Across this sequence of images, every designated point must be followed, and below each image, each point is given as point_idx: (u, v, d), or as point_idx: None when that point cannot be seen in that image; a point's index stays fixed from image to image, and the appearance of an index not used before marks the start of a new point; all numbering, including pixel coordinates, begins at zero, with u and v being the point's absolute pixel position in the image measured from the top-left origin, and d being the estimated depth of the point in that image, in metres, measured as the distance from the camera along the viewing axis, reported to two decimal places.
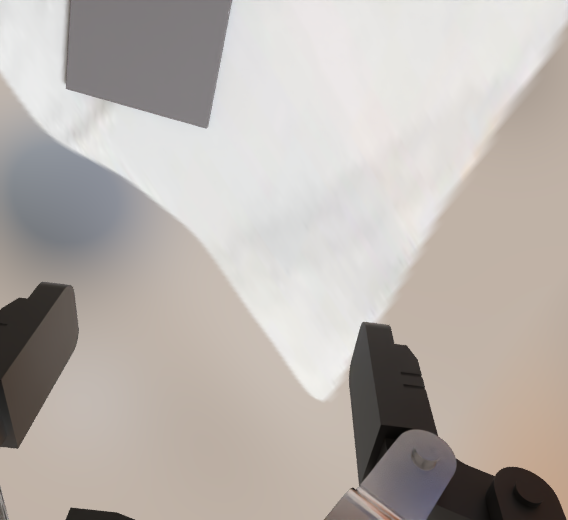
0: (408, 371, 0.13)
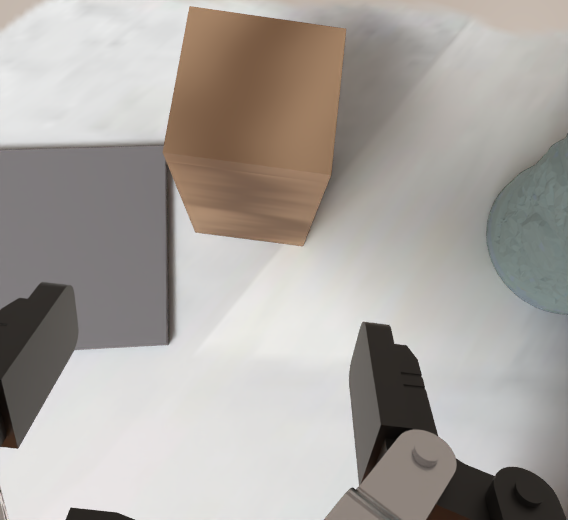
0: (408, 371, 0.13)
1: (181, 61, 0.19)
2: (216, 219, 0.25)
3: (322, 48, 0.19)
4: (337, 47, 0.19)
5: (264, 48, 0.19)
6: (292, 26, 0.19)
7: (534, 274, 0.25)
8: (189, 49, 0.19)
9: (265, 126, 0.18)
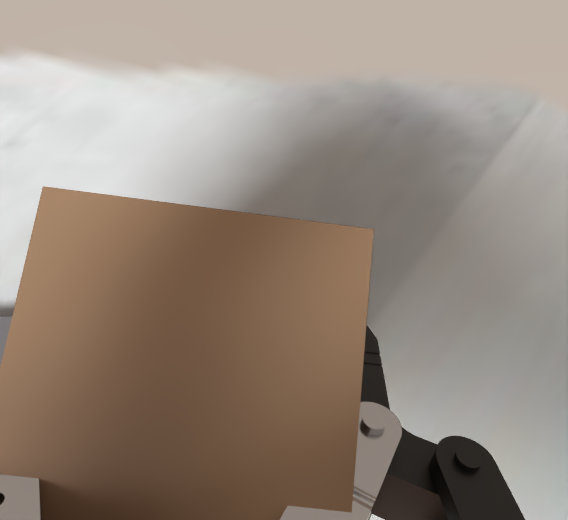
0: (367, 350, 0.13)
1: (17, 318, 0.08)
2: None
3: (324, 276, 0.09)
4: (356, 273, 0.09)
5: (200, 280, 0.09)
6: (260, 226, 0.09)
7: None
8: (36, 288, 0.09)
9: (197, 474, 0.08)
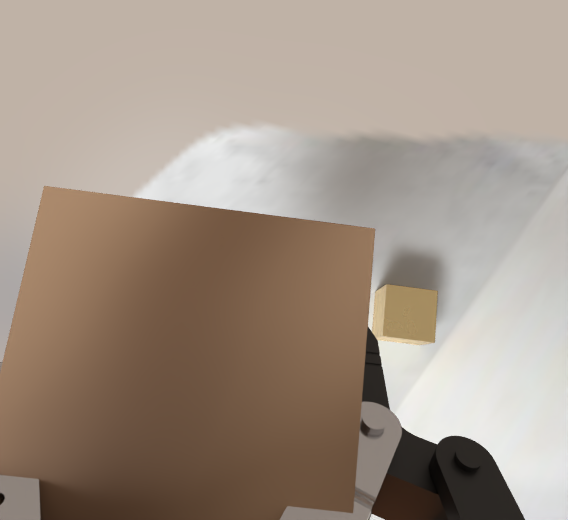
0: (367, 350, 0.13)
1: (18, 317, 0.08)
2: None
3: (325, 275, 0.09)
4: (357, 272, 0.09)
5: (201, 279, 0.09)
6: (261, 225, 0.09)
7: None
8: (37, 287, 0.09)
9: (198, 474, 0.08)
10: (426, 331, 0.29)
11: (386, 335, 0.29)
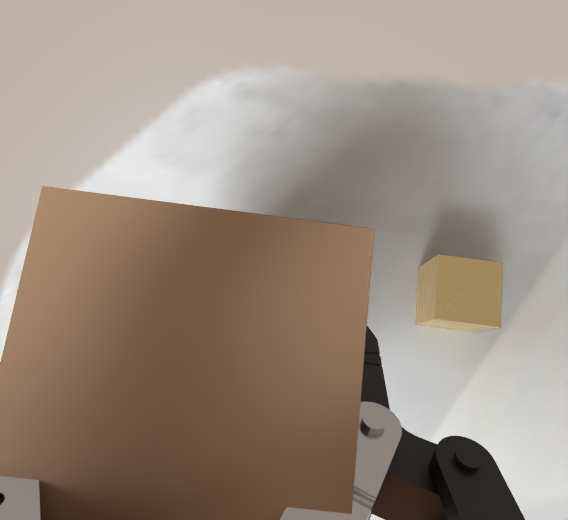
0: (367, 350, 0.13)
1: (16, 318, 0.08)
2: None
3: (324, 276, 0.09)
4: (356, 272, 0.09)
5: (200, 280, 0.09)
6: (260, 225, 0.09)
7: None
8: (35, 288, 0.09)
9: (197, 474, 0.08)
10: (490, 313, 0.23)
11: (439, 318, 0.23)
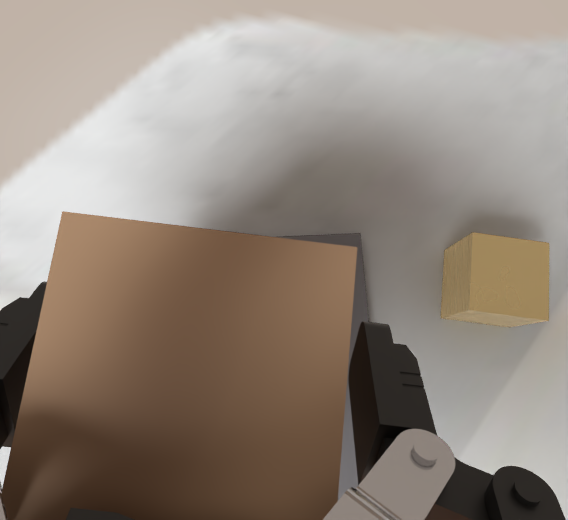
0: (407, 371, 0.13)
1: (41, 329, 0.10)
2: None
3: (313, 289, 0.10)
4: (341, 286, 0.10)
5: (203, 294, 0.10)
6: (256, 245, 0.10)
7: None
8: (58, 302, 0.10)
9: (202, 466, 0.09)
10: (535, 303, 0.19)
11: (475, 309, 0.19)
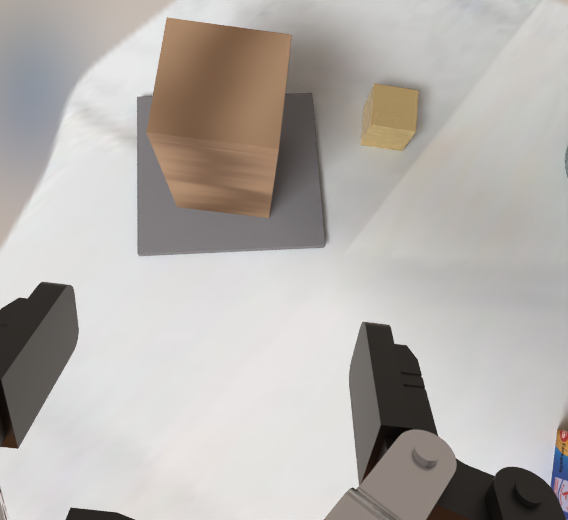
0: (408, 371, 0.13)
1: (161, 61, 0.23)
2: (193, 192, 0.30)
3: (272, 50, 0.24)
4: (284, 49, 0.24)
5: (226, 50, 0.24)
6: (248, 32, 0.24)
7: None
8: (167, 51, 0.24)
9: (227, 111, 0.23)
10: (408, 122, 0.33)
11: (373, 124, 0.33)
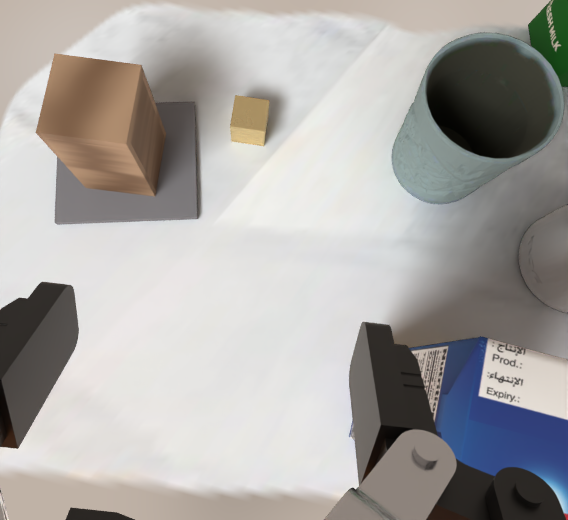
0: (408, 371, 0.13)
1: (48, 84, 0.34)
2: (91, 176, 0.41)
3: (127, 76, 0.35)
4: (135, 75, 0.35)
5: (94, 76, 0.35)
6: (111, 63, 0.35)
7: (411, 173, 0.43)
8: (53, 77, 0.35)
9: (92, 118, 0.34)
10: (259, 124, 0.44)
11: (232, 126, 0.43)
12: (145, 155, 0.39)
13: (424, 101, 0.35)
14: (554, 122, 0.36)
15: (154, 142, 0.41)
